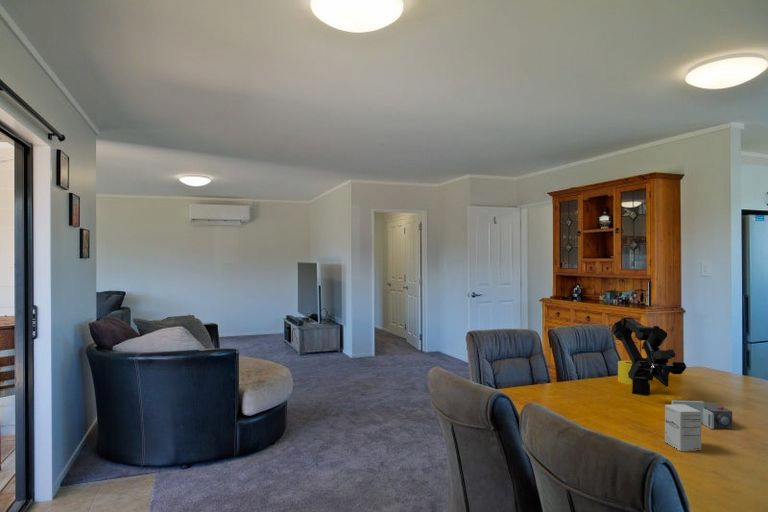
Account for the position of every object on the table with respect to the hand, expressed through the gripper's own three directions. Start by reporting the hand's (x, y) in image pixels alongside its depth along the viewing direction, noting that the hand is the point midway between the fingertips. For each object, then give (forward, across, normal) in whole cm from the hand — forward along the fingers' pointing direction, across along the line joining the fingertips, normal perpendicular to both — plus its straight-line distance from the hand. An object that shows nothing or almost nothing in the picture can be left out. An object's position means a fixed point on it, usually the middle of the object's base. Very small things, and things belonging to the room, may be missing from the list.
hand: (666, 386), depth 185 cm
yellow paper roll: (-22, +3, +36) cm, 43 cm away
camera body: (+17, +9, -4) cm, 20 cm away
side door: (+19, 0, -6) cm, 20 cm away
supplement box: (+33, -14, -20) cm, 41 cm away
